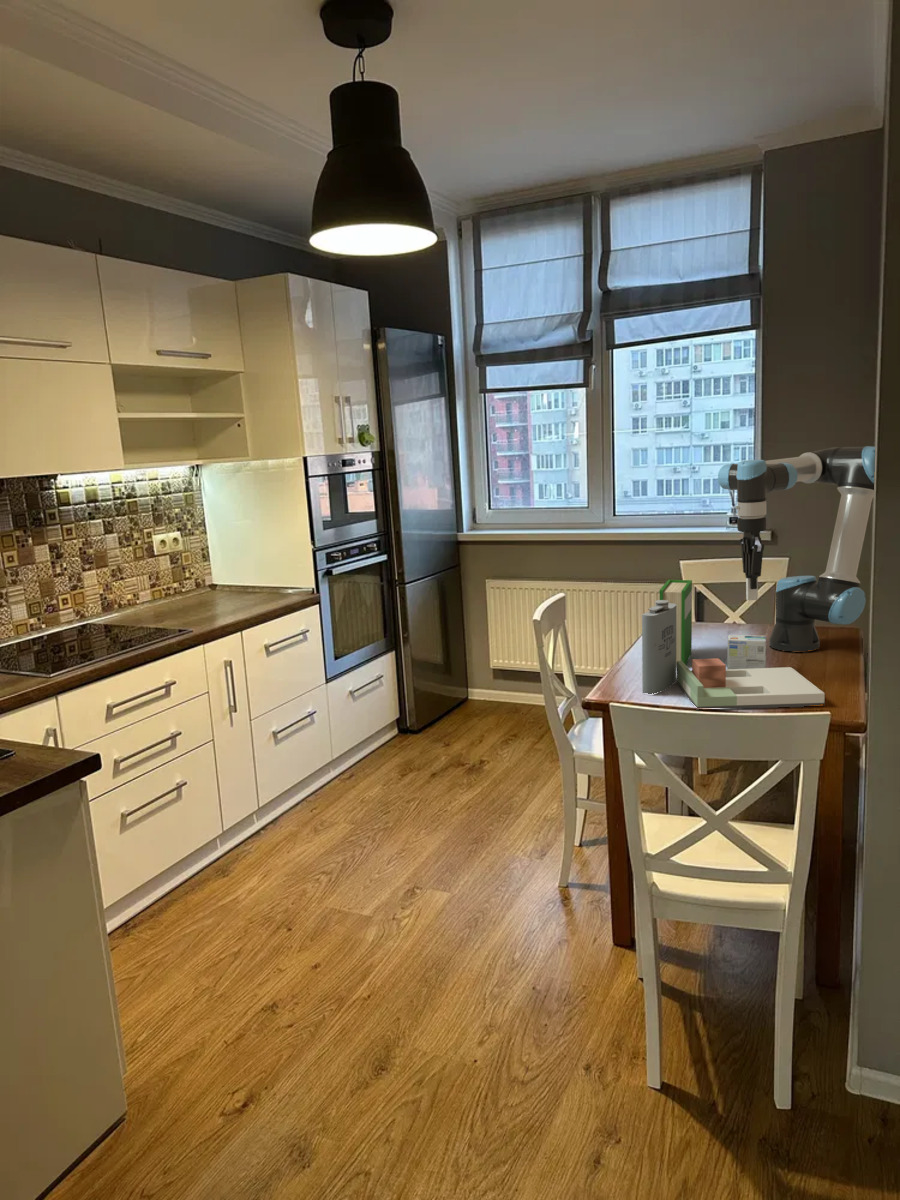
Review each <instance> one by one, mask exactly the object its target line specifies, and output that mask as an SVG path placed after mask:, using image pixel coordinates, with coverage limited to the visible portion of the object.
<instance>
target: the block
mask: <svg viewBox="0 0 900 1200" xmlns="http://www.w3.org/2000/svg"><path fill="white" fill-rule="evenodd" d="M726 669H727V665H726V664H725V663H724V662H723V661H722V660H721V659H720V658H716V657H715V658H714V657H713V658H696V659H695V658H693V659H691V671H692V673H693V674H694V675H695V677H696V678H697V679H698V680H699V681H700V683H701V684H702V685H703V688H715V687H726Z"/></svg>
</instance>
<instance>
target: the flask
mask: <svg viewBox="0 0 900 1200" xmlns="http://www.w3.org/2000/svg"><path fill="white" fill-rule="evenodd" d="M654 604H655V605H654V606H651V607H649V608H648V611H646V612H645V613H642V614H641V625H642V626H641V628H642V631H641V634H642V635H641V636H642V637H641V639H642V641H641V642H642V643H641V645H642V646H641V649H642V650H641V651H642V652H641V655H642V658H641V661H642V663H641V669H642V676H641V677H642V694H643V693H648V694H652V693H653V694H654V693H657V692H660V691H663V690H665V689H666V690H667V688H668V689H669V688H670V686H671V687H672V686H673V685H674V684H675V683H677V665H676V604H673V603H669V601H667V600H660V599H657V600H655V601H654ZM666 690H665V691H666ZM663 692H664V691H663ZM660 693H661V692H660Z"/></svg>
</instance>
